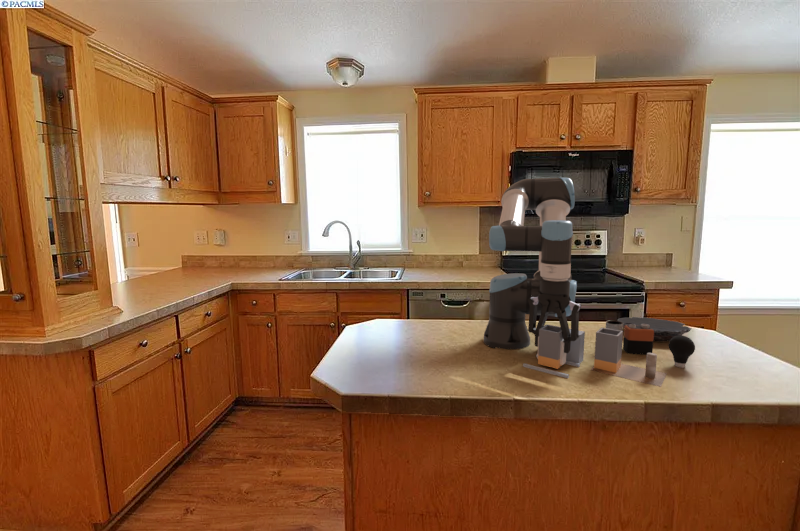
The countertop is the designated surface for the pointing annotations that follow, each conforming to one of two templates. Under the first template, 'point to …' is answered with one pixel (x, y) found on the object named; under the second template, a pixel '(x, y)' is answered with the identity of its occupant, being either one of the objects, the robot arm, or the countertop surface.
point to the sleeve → (550, 346)
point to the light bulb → (681, 349)
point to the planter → (614, 325)
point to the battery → (638, 339)
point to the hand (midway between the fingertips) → (551, 360)
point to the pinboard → (639, 372)
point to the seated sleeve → (608, 349)
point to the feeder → (567, 356)
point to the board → (658, 327)
